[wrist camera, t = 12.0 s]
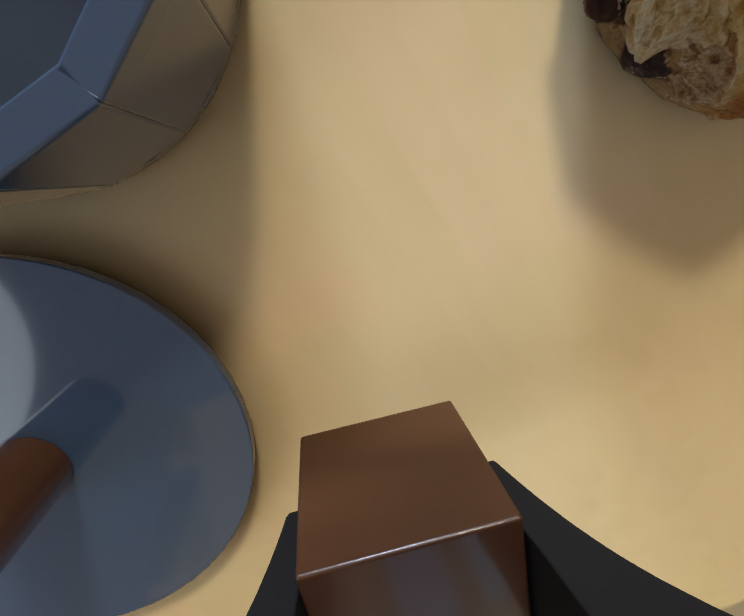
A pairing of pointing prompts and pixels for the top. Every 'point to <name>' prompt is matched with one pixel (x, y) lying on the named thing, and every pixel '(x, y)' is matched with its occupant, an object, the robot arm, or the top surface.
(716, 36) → the bread roll
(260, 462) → the top surface
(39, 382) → the bowl lid
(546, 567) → the robot arm
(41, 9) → the bowl
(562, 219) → the top surface
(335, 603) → the block
